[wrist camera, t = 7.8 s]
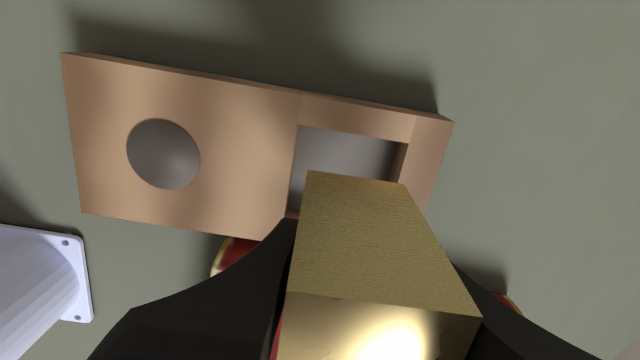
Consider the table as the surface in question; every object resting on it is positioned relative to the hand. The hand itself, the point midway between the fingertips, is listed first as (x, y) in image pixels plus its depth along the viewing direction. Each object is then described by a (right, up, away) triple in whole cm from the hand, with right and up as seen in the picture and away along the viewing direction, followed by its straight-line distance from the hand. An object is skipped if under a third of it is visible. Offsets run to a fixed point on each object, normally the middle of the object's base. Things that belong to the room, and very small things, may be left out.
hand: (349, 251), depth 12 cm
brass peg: (0, +1, +2) cm, 2 cm away
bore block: (-5, +4, +8) cm, 10 cm away
